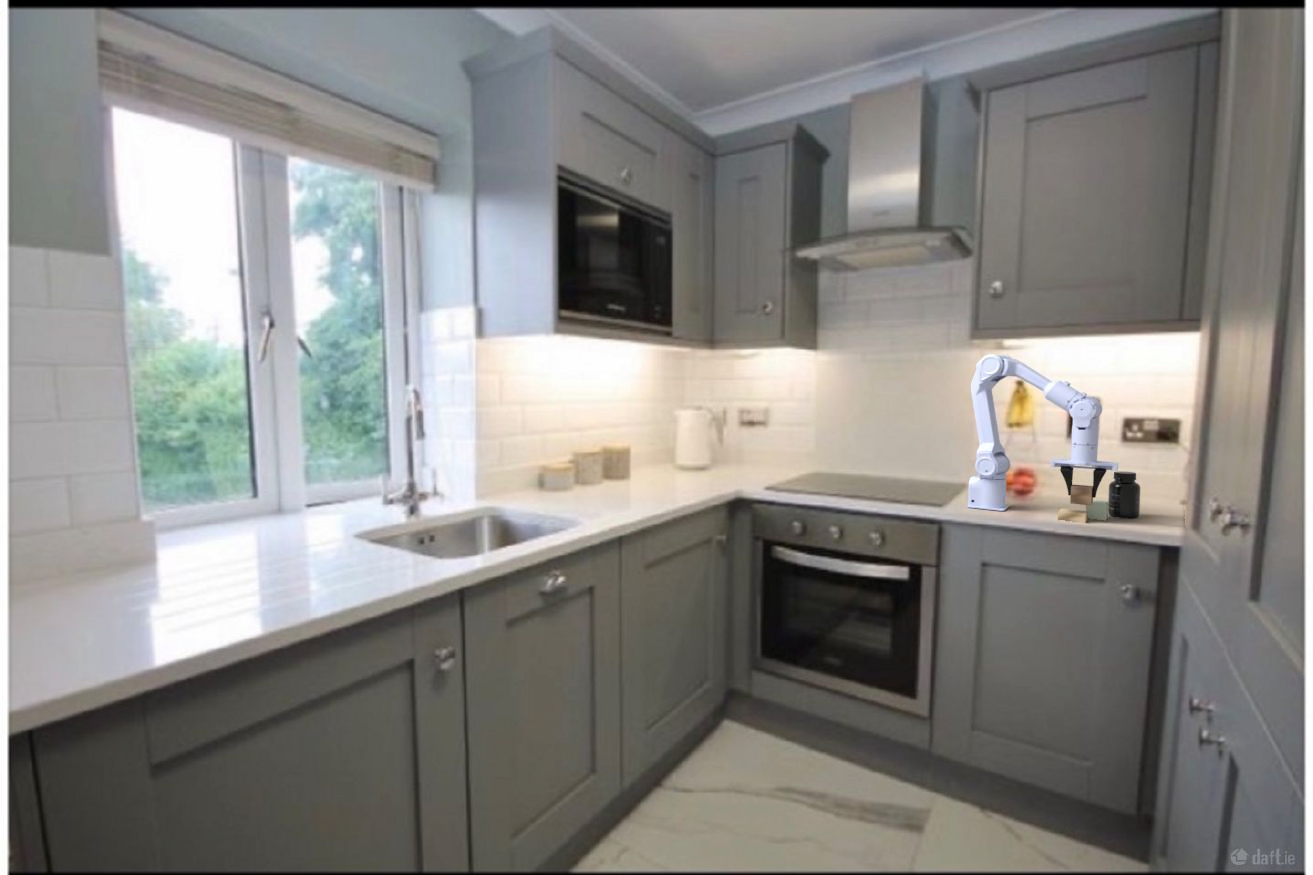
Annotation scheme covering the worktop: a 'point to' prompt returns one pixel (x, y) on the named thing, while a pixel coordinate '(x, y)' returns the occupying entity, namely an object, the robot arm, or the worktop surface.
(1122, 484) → the supplement bottle
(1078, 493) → the walnut cube
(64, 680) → the worktop surface
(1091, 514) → the sage cube
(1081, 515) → the oak slab
